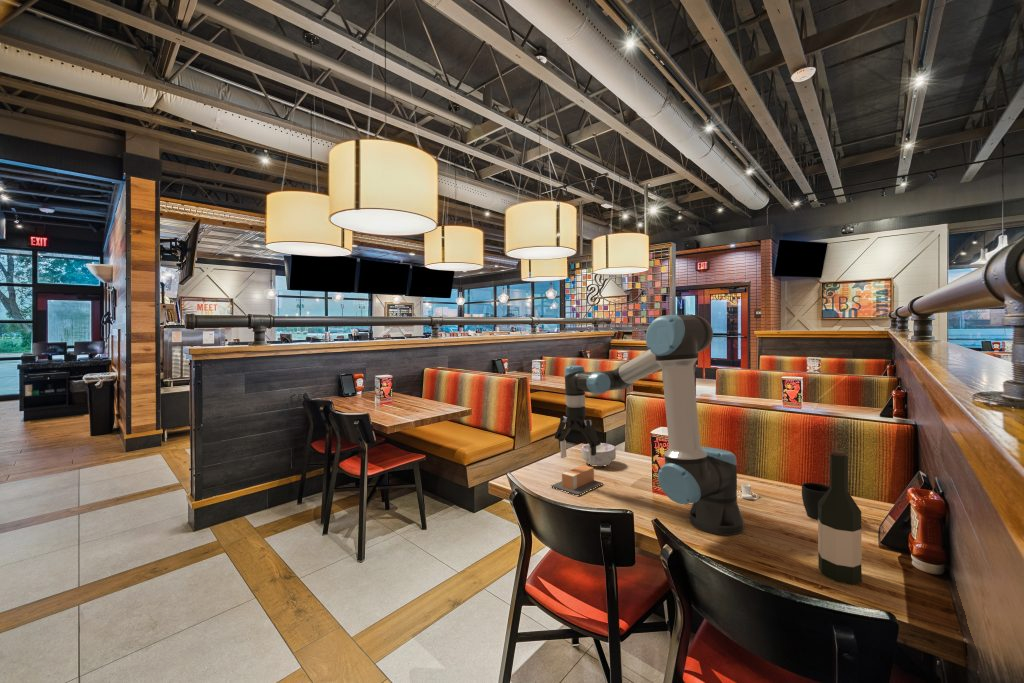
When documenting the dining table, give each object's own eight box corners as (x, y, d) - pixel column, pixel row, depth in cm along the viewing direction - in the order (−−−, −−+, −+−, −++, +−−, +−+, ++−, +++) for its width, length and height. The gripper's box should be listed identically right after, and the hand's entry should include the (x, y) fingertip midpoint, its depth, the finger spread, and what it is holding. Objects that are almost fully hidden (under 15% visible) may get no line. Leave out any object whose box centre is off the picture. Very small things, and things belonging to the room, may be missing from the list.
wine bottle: (858, 589, 96) (858, 459, 95) (814, 574, 102) (814, 452, 101) (864, 574, 102) (863, 451, 101) (821, 561, 108) (821, 445, 107)
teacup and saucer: (751, 503, 145) (751, 491, 145) (728, 496, 152) (728, 485, 152) (763, 496, 151) (763, 485, 151) (740, 490, 157) (740, 479, 157)
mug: (841, 530, 124) (841, 498, 124) (796, 515, 134) (796, 485, 134) (853, 523, 128) (853, 492, 128) (809, 509, 139) (809, 480, 138)
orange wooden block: (593, 467, 168) (572, 476, 158) (594, 480, 168) (572, 490, 158) (583, 464, 171) (561, 473, 161) (583, 477, 171) (562, 486, 161)
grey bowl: (575, 461, 194) (574, 444, 194) (602, 457, 200) (602, 440, 200) (594, 471, 180) (593, 453, 180) (623, 466, 186) (622, 448, 186)
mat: (602, 484, 165) (602, 482, 165) (578, 496, 153) (578, 494, 153) (576, 477, 174) (576, 475, 174) (550, 487, 163) (550, 485, 163)
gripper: (608, 407, 157) (610, 464, 157) (556, 401, 175) (558, 452, 175) (596, 410, 151) (598, 468, 151) (544, 404, 169) (546, 456, 169)
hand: (577, 460), depth 163 cm, fingers open, 13 cm apart
